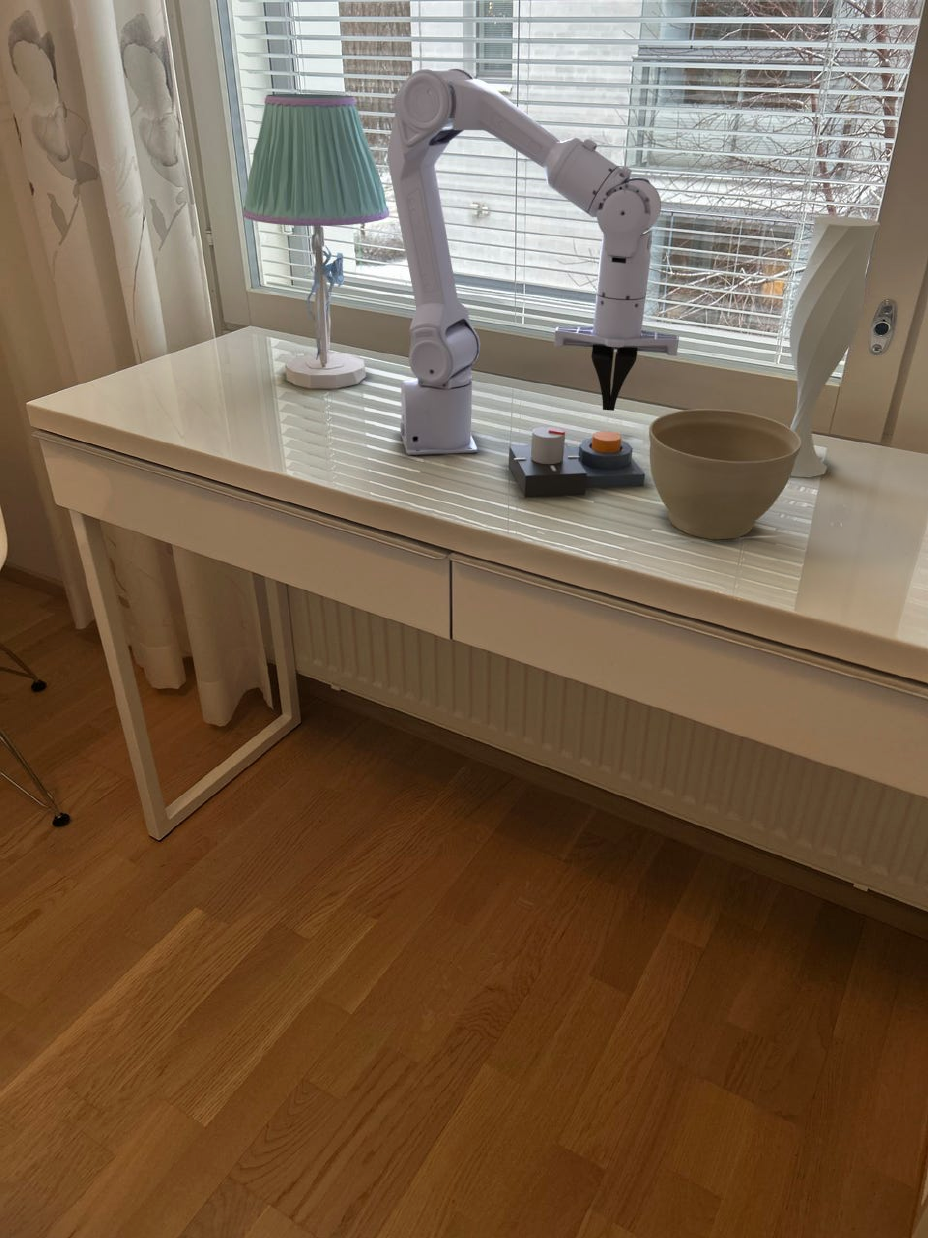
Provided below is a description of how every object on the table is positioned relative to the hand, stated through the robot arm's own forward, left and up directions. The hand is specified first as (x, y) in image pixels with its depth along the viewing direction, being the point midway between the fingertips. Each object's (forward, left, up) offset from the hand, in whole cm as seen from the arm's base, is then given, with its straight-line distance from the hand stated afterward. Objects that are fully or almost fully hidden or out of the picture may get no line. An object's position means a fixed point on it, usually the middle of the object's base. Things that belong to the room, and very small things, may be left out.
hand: (608, 407), depth 116 cm
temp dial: (-8, -2, -5) cm, 10 cm away
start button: (0, 0, -5) cm, 5 cm away
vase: (+26, 0, -9) cm, 28 cm away
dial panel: (-8, -2, -9) cm, 12 cm away
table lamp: (-34, +44, -9) cm, 56 cm away
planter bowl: (+8, -16, -9) cm, 20 cm away
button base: (0, 0, -9) cm, 9 cm away
